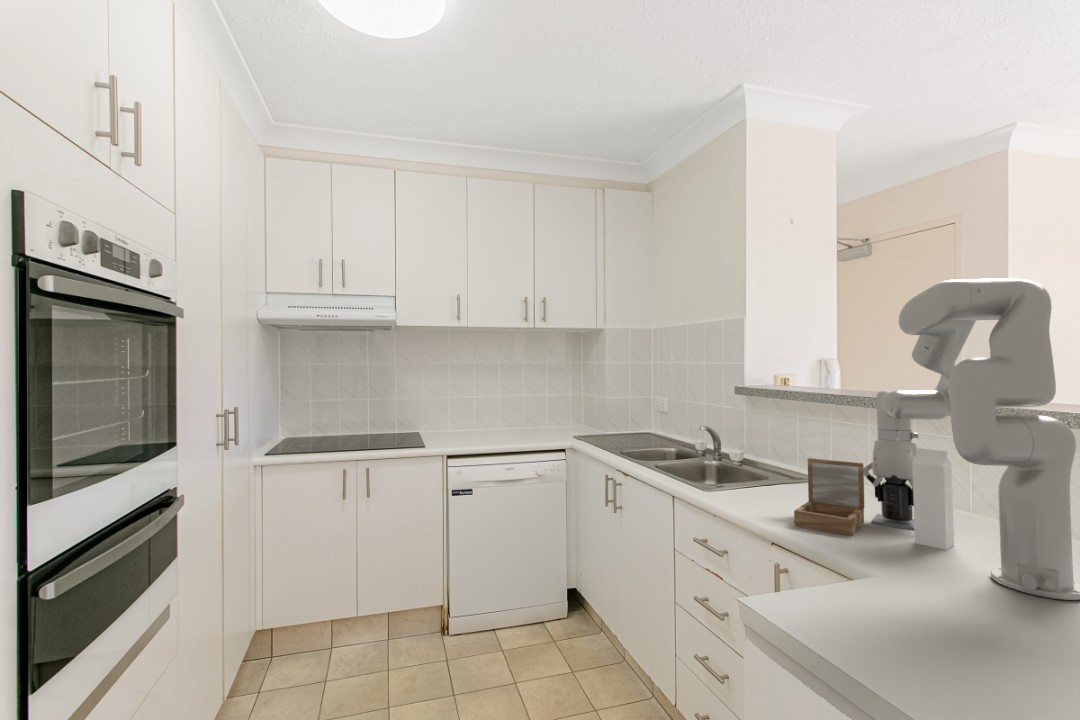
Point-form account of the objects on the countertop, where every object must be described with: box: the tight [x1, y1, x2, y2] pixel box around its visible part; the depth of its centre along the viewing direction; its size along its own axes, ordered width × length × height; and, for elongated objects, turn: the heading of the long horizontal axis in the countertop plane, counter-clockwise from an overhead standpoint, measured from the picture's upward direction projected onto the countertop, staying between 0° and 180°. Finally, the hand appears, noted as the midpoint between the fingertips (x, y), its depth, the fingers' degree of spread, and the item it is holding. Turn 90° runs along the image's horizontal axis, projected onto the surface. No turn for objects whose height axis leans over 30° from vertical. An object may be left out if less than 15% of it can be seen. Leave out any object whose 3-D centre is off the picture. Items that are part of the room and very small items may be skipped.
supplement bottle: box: [880, 475, 914, 521], centre depth 134 cm, size 7×7×12 cm
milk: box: [912, 448, 955, 551], centre depth 117 cm, size 6×6×22 cm
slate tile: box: [870, 513, 914, 531], centre depth 134 cm, size 10×10×1 cm
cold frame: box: [793, 457, 865, 537], centre depth 133 cm, size 16×13×16 cm
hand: (896, 502), depth 134 cm, fingers closed on supplement bottle, 6 cm apart
